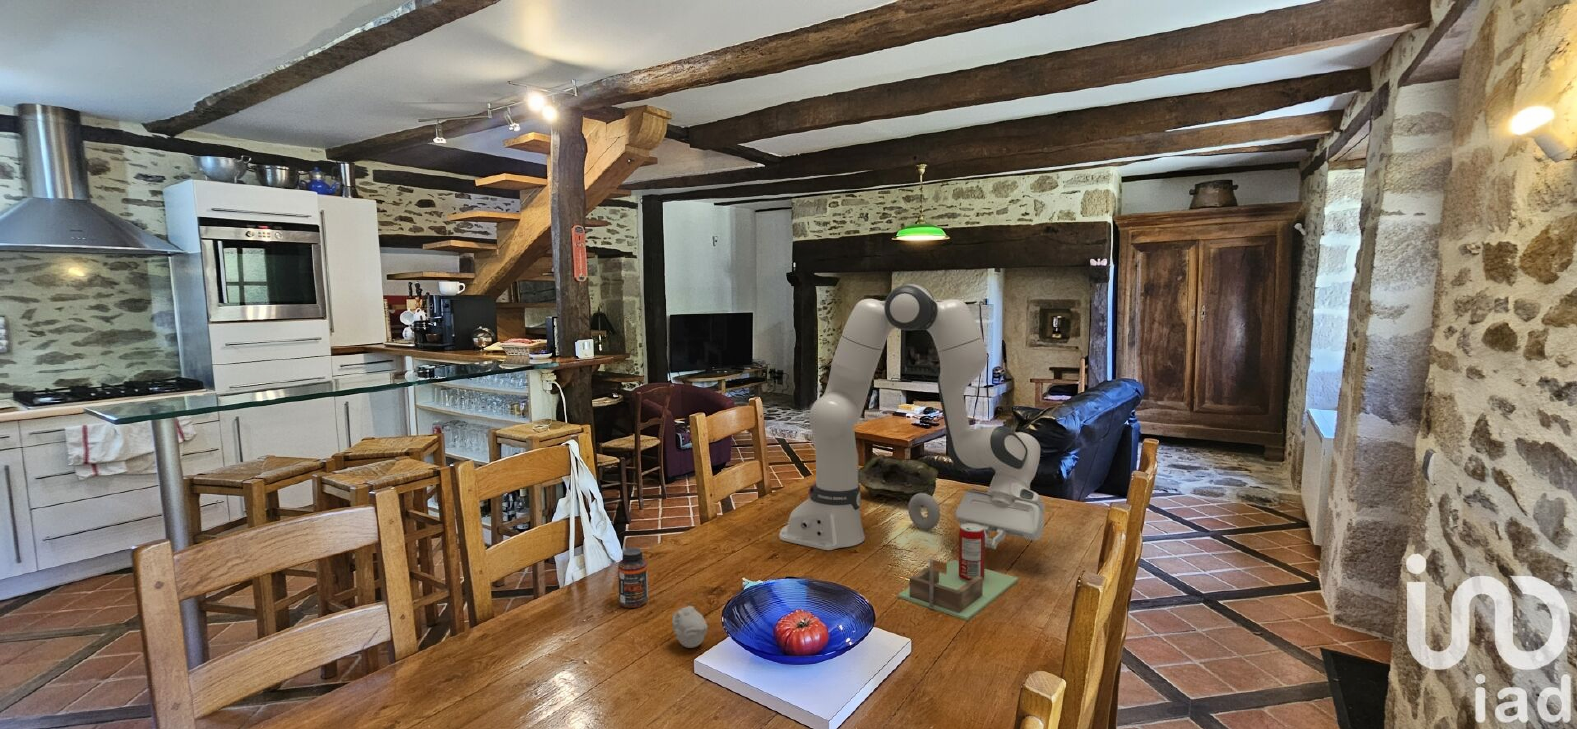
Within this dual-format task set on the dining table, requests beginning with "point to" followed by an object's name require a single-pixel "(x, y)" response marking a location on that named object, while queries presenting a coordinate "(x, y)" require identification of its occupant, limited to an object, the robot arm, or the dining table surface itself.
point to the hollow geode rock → (897, 477)
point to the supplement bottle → (632, 579)
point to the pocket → (943, 589)
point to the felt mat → (991, 584)
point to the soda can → (971, 551)
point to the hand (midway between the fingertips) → (988, 546)
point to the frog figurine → (689, 627)
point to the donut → (932, 511)
